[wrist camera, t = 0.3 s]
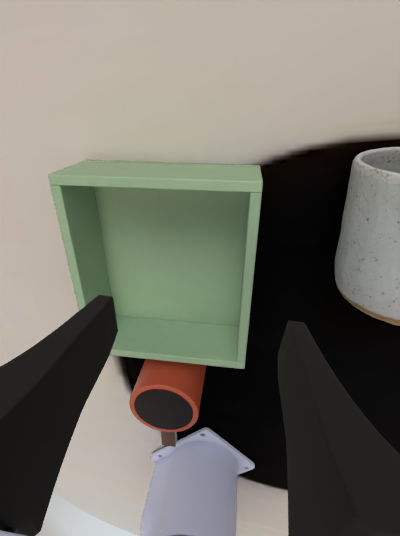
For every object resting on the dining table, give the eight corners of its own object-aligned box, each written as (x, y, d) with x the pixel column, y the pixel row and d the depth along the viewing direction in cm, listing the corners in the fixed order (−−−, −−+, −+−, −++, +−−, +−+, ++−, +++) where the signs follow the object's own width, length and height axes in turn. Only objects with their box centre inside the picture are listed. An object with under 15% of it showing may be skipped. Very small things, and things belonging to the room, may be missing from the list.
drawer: (244, 328, 26) (244, 369, 22) (111, 316, 27) (88, 353, 23) (260, 165, 19) (263, 181, 16) (85, 160, 21) (47, 174, 17)
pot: (147, 331, 27) (125, 381, 22) (207, 337, 27) (198, 390, 22) (153, 395, 31) (136, 450, 26) (206, 401, 31) (198, 458, 26)
